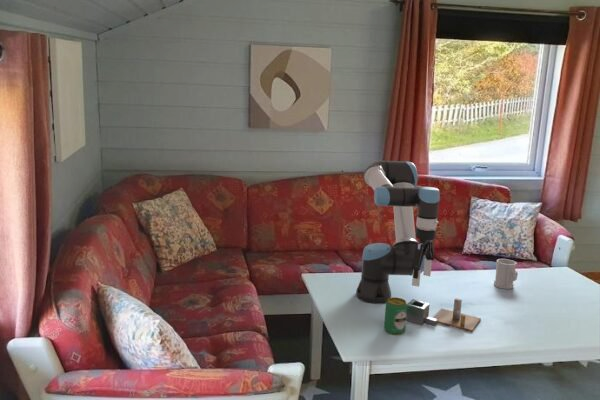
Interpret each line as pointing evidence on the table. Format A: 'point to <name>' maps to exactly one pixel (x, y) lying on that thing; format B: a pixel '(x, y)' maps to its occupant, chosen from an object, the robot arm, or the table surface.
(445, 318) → the post base
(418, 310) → the grey hollow square block
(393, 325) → the beverage can
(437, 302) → the table surface
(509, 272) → the cup
